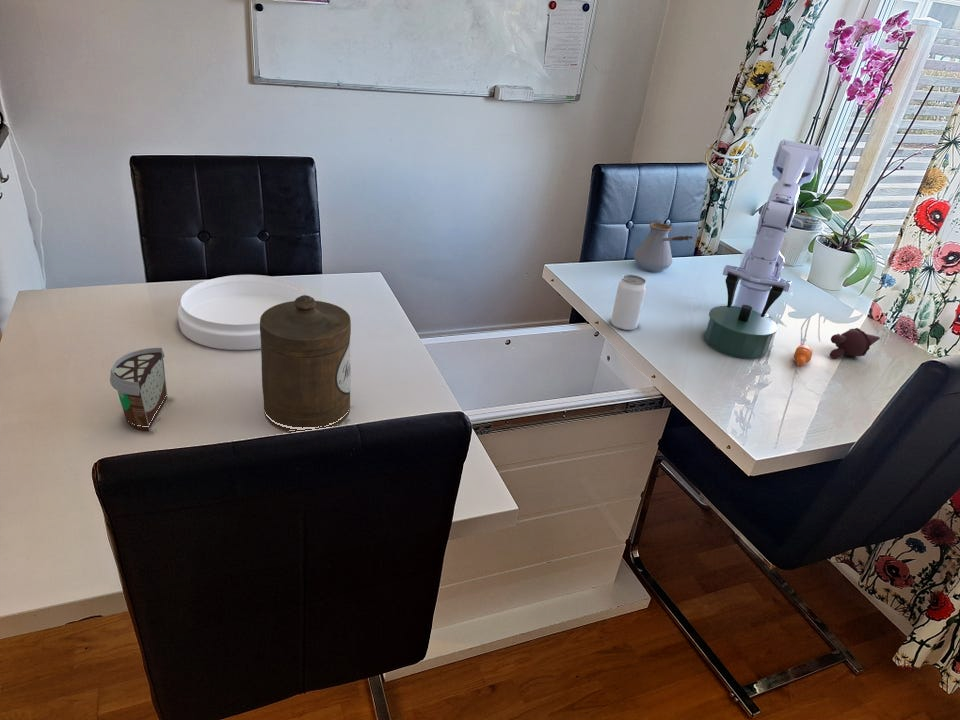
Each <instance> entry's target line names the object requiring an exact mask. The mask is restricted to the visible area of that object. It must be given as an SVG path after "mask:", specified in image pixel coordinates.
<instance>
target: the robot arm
mask: <svg viewBox="0 0 960 720" xmlns="http://www.w3.org/2000/svg"><path fill="white" fill-rule="evenodd" d="M824 150H825V149H824V147H823V145H814V144H810V143H803V142H797V141H791V140H786V139H784V138H783V139H782V140H780V141H779V143H778V145H777V149H776V152H775V155H774V159H773V165H772V169H771V170H772V174H771V175H772V176H773V177H774V178H776V179H777V181H776V182H775V183H774V184H773V186H772V188H771V191H770V192H769V196H768V198H767V202H766V201H765V202H764V203H763V205H762V208H761V211H760V214H759V218H758V221H757V228H756V232H755V237H754V240H753V244H752V246H751V248H749V249H747V250H746V251H745V252H744V255H743V258H742V260H741V262H740V266H736V265H729V264H725V265H724V268H723V271H722V276H726V278H725V285H726V286H725V287H726V291H727V303H726V306H727V307H729V308H730V307H731V306H737V307H742V305H748V306H751V307H752V310H753V311H756V312H759V313H761V317H764V316H767V317H769V318H770V315H769V314H768V313H767V312H768V310H769V309H770V307H771V306H772V305H773V304H774V303H775V302H776V301H777V300H778V299H779V298H780V297H781V295H782V294H783V292H786V293H789V291H790V288H791V286H792V283H793V282H792V281H791V280H787V279H784V278H781V275H782V274H783V269H784V265H785V262H786V260H785V257H784V255H783V254H782V253H781V249H782V246H783V243H784V240H785V237H786V234H787V232H788V231H789V230H790V228H791V226H792V222H793V220H794V217H795V213H796V210H797V209H796V207H797V201H798V198H799V195H800V192H801V189H800V187H802V185H803V184H808V183H811V181H812V179H814V177H815V174H816V172H817V170H818V167H819V165H820V162H821V158H822V155H823V153H824ZM786 228H787V230H786ZM739 282H740V283H739ZM738 285H739V287H738ZM737 287H738V291H737ZM736 291H737V294H736ZM735 294H736V295H735ZM735 296H736V297H735ZM734 299H735V300H734ZM733 302H734V303H733Z"/></svg>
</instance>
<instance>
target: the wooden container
mask: <svg viewBox="0 0 960 720" xmlns="http://www.w3.org/2000/svg"><path fill="white" fill-rule="evenodd" d="M351 321H352V319H351V316H350V314H349V313H348V312H347V311H346V310H345V309H344V308H342V307H341V306H338V305H336V304H333V303H330V302H326V301H321V300H315V298H314V297H312V296H310V295H307V294H305V295H302V296H300V297H298V298H296V300H295V301H291V302H285V303H281V304H278V305H275V306H273V307H271V308H269V309H268V310H266V311H265V312H264V313H263V314H262V315H261V318H260V337H261V349H260V357H261V361H260V362H261V386H262V387H261V388H262V398H263V400H262V401H263V412H264V410H265V412H266V414H267V415H268V416H269V417H270V418H271V419H272V420H274V421H275V422H277V423H280V424H283V425H287V426H292V427H302V428H303V427H318V426H319V428H326V427H332V426H335V427H338V426H339V425H340V424H341V423H343V422H344V421H345V420H346V419H347V418H348V416H349V414H350V411H351V381H352V380H351V379H352V378H351V377H352V376H351V373H352V372H351V369H352V368H351V334H352V333H351V331H352V323H351ZM349 408H350V409H349ZM348 410H349V411H348ZM265 412H264V417H265V419H266V420H267V422H268V423H269V424H270V425H272V426H273V427H275V428H277V429H278V430H281V431H284V432H287V431H289V430H295V431H289V432H288V433H292V432H296V431H305V430H312V429H305V430H297V429H290V428H286V427H282V426H280V425H277V424H275V423H274V422H272V421H271V420H270V419H269V418H268V417H267V416H266V414H265ZM347 412H348V413H347ZM346 413H347V414H346ZM345 414H346V415H345ZM344 415H345V416H344ZM343 416H344V417H343ZM341 417H343V418H342V419H341V420H339V421H338V419H340V418H341ZM336 421H338V422H336ZM333 422H336V423H334V424H332V425H329V423H333ZM337 424H338V425H337ZM326 425H329V426H326ZM320 426H322V427H320ZM324 426H326V427H324ZM319 428H315V429H319Z"/></svg>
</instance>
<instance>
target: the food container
mask: <svg viewBox="0 0 960 720" xmlns="http://www.w3.org/2000/svg"><path fill="white" fill-rule="evenodd" d="M164 358H165V352H164V350H163V347H147V348H142V349H137V350H133V351H132V352H131V351H130V352H128V353H126V354H124V355H122V356H121V357H119V358H118V359H116V360H115V362H114V363H113V364H112V367H111V369H110V373H109V383H110V386H111V387H112V388H113V389H114V390H116V391H117V394H118V397H119V401H120V404H121V408H122V411H123V414H124V418H125V421H126V424H127V425H128V426H129V427H130V428H132V429H134V430H136V431H140V432H146V433H147V432H149V433H150V432H151V430H152V428H153V427H154V426H155V424H156V422H157V420H158V418H159V416H160V415H161V413H162V411H163V410H164V408H165V406H166V405H167V402H168V401H169V397H168V390H167V380H166V372H165V362H164V361H165V360H164ZM166 395H167V396H166ZM165 396H166V397H165ZM164 398H165V399H164ZM163 400H164V401H163ZM162 401H163V403H162ZM161 403H162V404H161ZM160 405H161V406H160ZM159 406H160V408H159ZM158 408H159V409H158ZM157 410H158V411H157ZM156 411H157V413H156ZM155 413H156V414H155ZM154 414H155V416H154ZM153 416H154V418H153ZM152 418H153V420H152ZM151 420H152V421H151ZM128 421H129V422H128ZM150 422H151V423H150ZM132 423H133V424H132ZM149 423H150V425H149ZM134 424H135V425H134ZM137 425H141V426H137ZM142 426H149V427H142Z"/></svg>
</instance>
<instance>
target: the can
mask: <svg viewBox="0 0 960 720" xmlns="http://www.w3.org/2000/svg"><path fill="white" fill-rule="evenodd" d="M646 283H647V280H646V279H645V278H643V277H641V276H639V275H635V274H625V275H622V276H621V279H620V281H619V282H618V286H617V289H616V295H615V300H614V304H613V309H612V313H611V319H610V323H611V325H612V326H613V327H614V328H616V329H619V330H623V331H632V330H635V329H636V328H638V325H639V320H640V317H641V312H642V308H643V305H644V304H643V303H644V299H645V296H646V291H647V285H646Z"/></svg>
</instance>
